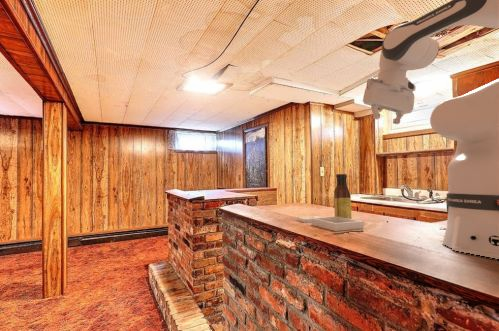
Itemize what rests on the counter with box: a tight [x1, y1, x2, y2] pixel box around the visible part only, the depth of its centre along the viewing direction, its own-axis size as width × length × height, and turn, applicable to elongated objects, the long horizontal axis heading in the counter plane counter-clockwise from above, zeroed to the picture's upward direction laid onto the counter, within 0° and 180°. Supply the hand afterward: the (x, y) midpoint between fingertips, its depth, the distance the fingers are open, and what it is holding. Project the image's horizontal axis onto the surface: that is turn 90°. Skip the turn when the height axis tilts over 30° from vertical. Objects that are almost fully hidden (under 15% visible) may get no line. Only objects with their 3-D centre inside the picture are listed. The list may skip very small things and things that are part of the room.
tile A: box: [310, 215, 325, 218], centre depth 100 cm, size 5×5×1 cm
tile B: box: [296, 216, 312, 223], centre depth 98 cm, size 5×5×1 cm
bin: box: [311, 216, 365, 236], centre depth 87 cm, size 12×13×4 cm
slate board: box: [291, 218, 312, 224], centre depth 100 cm, size 10×12×1 cm
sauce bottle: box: [333, 173, 353, 219], centre depth 100 cm, size 6×6×20 cm
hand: (386, 121), depth 90 cm, fingers open, 8 cm apart
